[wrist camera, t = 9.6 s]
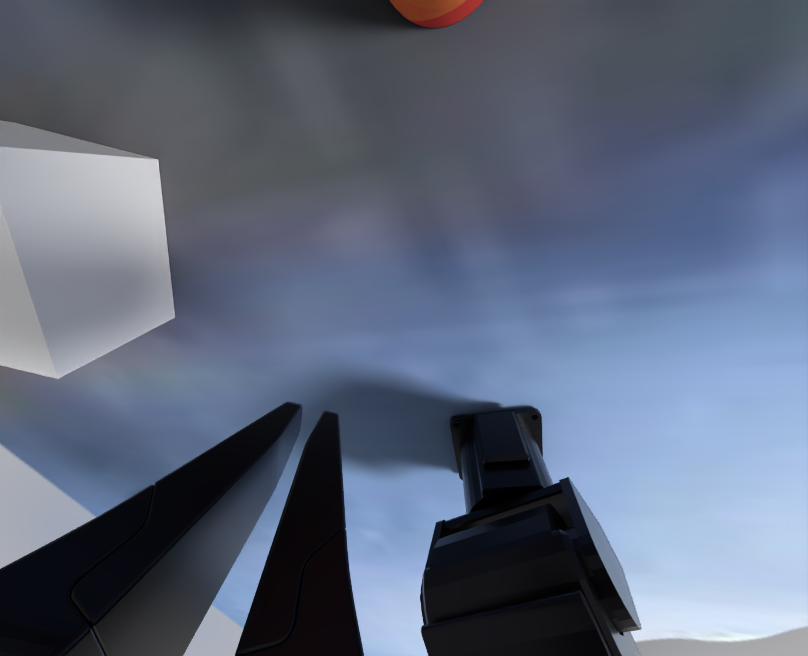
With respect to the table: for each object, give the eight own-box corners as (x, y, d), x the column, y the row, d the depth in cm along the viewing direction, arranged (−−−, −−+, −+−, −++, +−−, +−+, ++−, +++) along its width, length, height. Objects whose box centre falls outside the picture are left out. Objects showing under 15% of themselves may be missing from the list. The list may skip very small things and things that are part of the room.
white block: (158, 159, 17) (-39, 143, 10) (175, 318, 22) (46, 385, 14) (-10, 116, 17) (-335, 67, 10) (42, 285, 21) (-157, 337, 14)
